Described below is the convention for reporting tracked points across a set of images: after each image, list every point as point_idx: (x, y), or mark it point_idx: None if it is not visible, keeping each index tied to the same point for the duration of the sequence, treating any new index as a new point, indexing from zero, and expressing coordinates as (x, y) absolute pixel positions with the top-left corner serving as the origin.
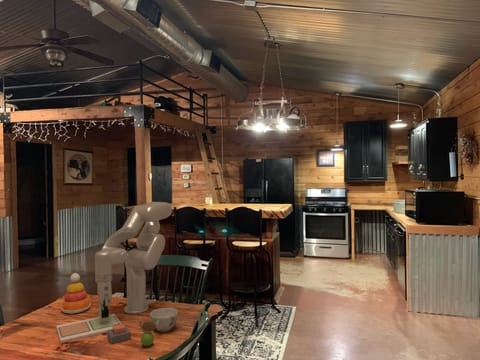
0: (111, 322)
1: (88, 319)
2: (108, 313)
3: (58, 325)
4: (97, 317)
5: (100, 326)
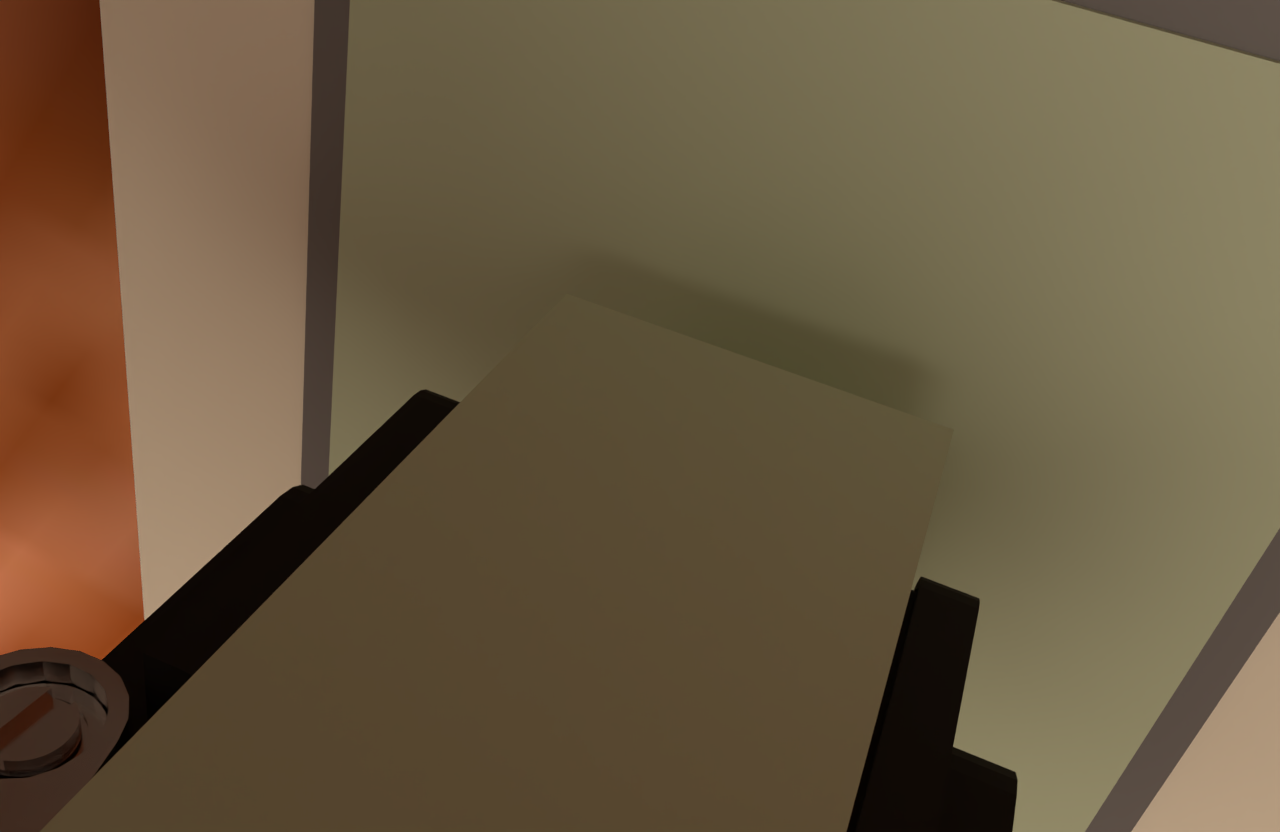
0: (1009, 280)
1: (173, 533)
2: (952, 730)
3: None
4: (151, 302)
5: (1002, 706)
